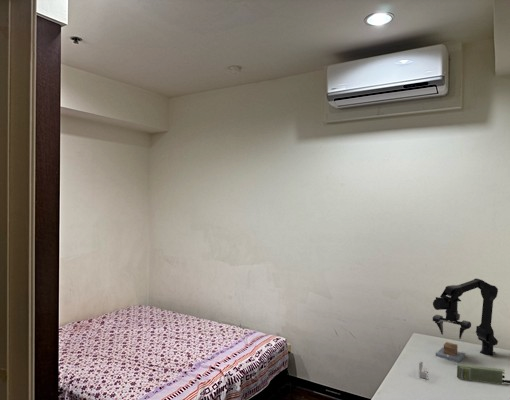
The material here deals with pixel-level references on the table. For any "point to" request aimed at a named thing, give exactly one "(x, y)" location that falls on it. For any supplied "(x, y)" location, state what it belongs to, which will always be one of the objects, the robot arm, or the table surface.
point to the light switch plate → (457, 357)
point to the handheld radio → (481, 374)
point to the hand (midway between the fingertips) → (451, 336)
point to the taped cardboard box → (450, 348)
